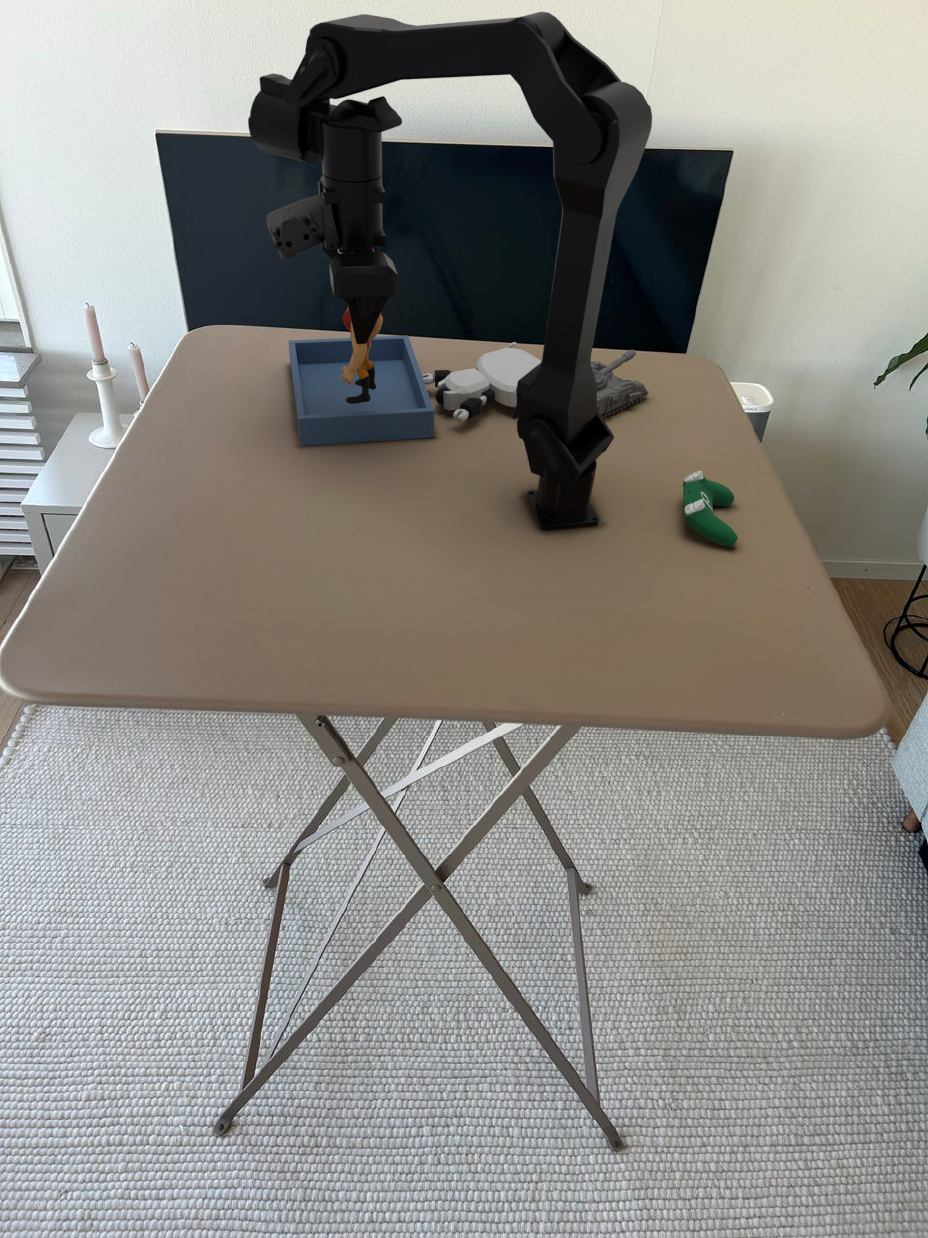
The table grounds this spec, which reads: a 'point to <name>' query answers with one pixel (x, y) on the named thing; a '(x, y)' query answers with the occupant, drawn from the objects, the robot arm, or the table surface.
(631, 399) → the tank toy
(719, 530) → the green christmas stockings
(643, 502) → the table surface
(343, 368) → the action figure
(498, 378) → the robot toy
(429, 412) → the storage bin
